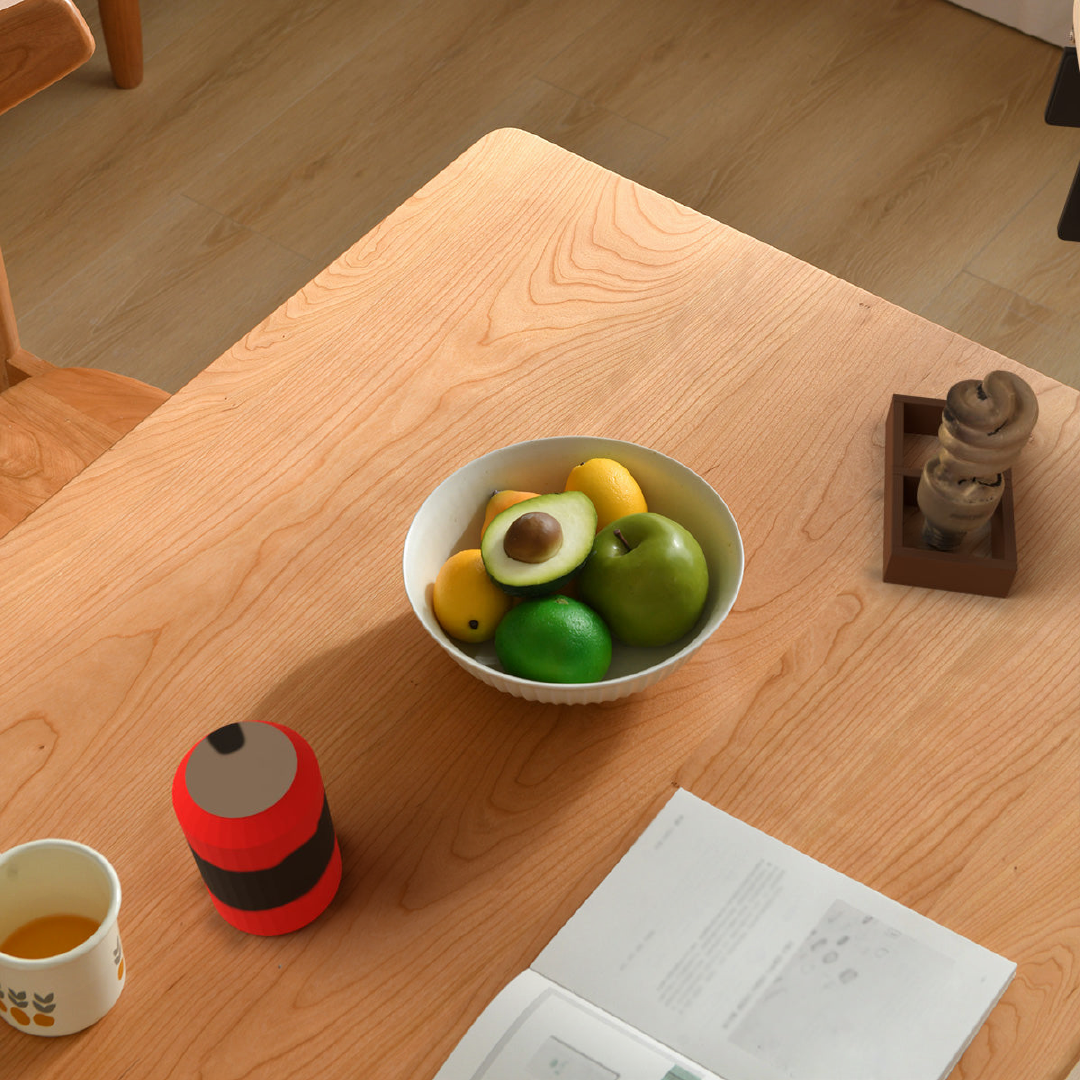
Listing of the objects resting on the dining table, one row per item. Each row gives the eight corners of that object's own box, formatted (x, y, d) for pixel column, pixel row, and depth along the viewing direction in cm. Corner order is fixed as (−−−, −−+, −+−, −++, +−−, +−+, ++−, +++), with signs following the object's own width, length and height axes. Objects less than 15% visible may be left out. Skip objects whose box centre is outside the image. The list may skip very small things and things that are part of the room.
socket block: (1006, 598, 91) (1018, 570, 89) (882, 582, 92) (890, 554, 90) (996, 435, 101) (1007, 406, 99) (885, 422, 102) (893, 393, 100)
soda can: (309, 796, 81) (279, 683, 72) (365, 897, 77) (340, 790, 68) (190, 856, 79) (144, 746, 70) (241, 963, 75) (199, 861, 65)
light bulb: (965, 510, 96) (1022, 351, 85) (997, 569, 93) (1061, 411, 81) (890, 523, 95) (937, 363, 84) (920, 582, 92) (973, 425, 80)
